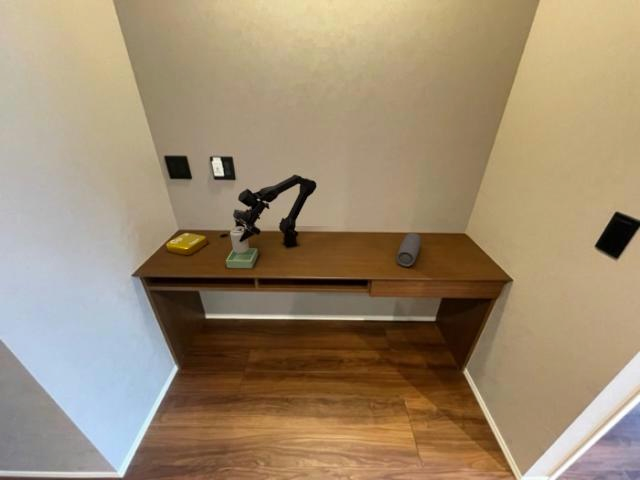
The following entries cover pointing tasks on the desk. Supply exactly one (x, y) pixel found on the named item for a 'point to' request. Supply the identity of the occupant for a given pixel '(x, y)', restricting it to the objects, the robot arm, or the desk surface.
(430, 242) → the desk surface
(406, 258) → the bluetooth speaker
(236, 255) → the tray
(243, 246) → the can
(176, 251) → the element tile
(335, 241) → the desk surface
